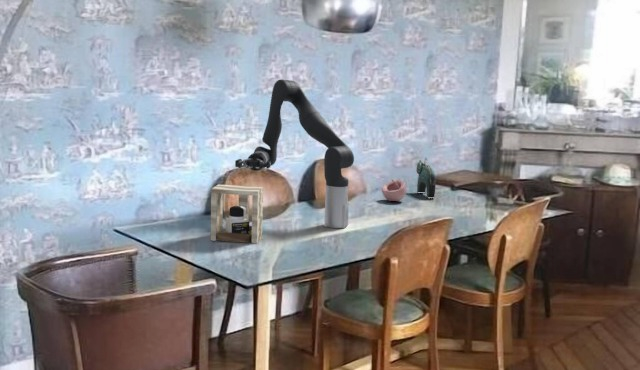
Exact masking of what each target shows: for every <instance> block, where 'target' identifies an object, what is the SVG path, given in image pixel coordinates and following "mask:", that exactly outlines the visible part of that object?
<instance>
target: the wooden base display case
mask: <svg viewBox="0 0 640 370" xmlns="http://www.w3.org/2000/svg"><path fill="white" fill-rule="evenodd" d="M238 206H242V207H245V209H246V217H245V219H247V220H248V221H249V222H250V195H238ZM225 229H226V227H225V228H224V229H223V231H222V232H218V239H217V242H219V241H220V242H230V243H231V242H232V243H248V244H249V243H251V242H252V225H249V234H244V233H228V232H226V231H225Z"/></svg>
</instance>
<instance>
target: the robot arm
mask: <svg viewBox="0 0 640 370" xmlns="http://www.w3.org/2000/svg"><path fill="white" fill-rule="evenodd" d="M270 97H271V99H270V104H269V111H268V119H267V121H266V126H265V129H264V133H263V136H262V139H261V140H262V142H263V143H264V144H265V145H267V146H268V147H269V148H267V147H263V146H260V145H259V146H257V147H256V148H255V149H254V151H253V153H251V154H250V155H249V156H248V157H247V158H244V159H241V158H238V159H236V160H234V162H235V165H234V167H236V168H238V169H241V168H245V169H250V170H251V171H254V172H258V171H261V170H262V169H267V170H268V169H270V168H271V166H274V165H275V163H276V161H277V155H278V153H277V151H278V150H277V149H278V143H279V139H280V136H281V132H282V128H283V123H282V117H281V111H282V106H283V103H284V102H289V103H291V105H293V107H294V108H295V109H296V110H297V112H298V120H299V124H300V126H301V128H303V130H304V131H305V132H306V134H307V135H308V136H310V137H311V138H312V139H313V140H315V141H317V142H319V144H322V145H323V146H325V147H326V148H327V149H326V150H325V153H324V159H323V163H324V168H323V169H324V179H325V202H324V204H325V205H324V226H325V227H327V228H331V229H345V228H346V227H348V225H349V211H350V210H349V209H350V208H349V205H350V204H349V201H348V197H349V179H348V178H347V177H345V176H343V174H342V169H347V168H350V167H351V166H353V164H354V162H355V157H354V153H353V151H352V150H351V148H350V146H348V145H347V144H346V143H345V142H344V141H343V140H342V139H341V137H340V136H338V135H337V134H336V132H335V131H334V130H333V129H332V127H331V126H330V125H329V124H328V123H327V122H326V120H325V118H324V117H323V116H322V115H321V114H320V112H318V110H317V109H316V108H315V106H314V105H313V104H312V103H311V101H310V100H309V99H308V97H307V96H306V94H305V92H304V91H303V89H302V88H301V86H300V85H299V84H298V82H296V81H294V80H288V79H279V80H276V81H275V83H274V84H273V88H272V92H271V96H270Z"/></svg>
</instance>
